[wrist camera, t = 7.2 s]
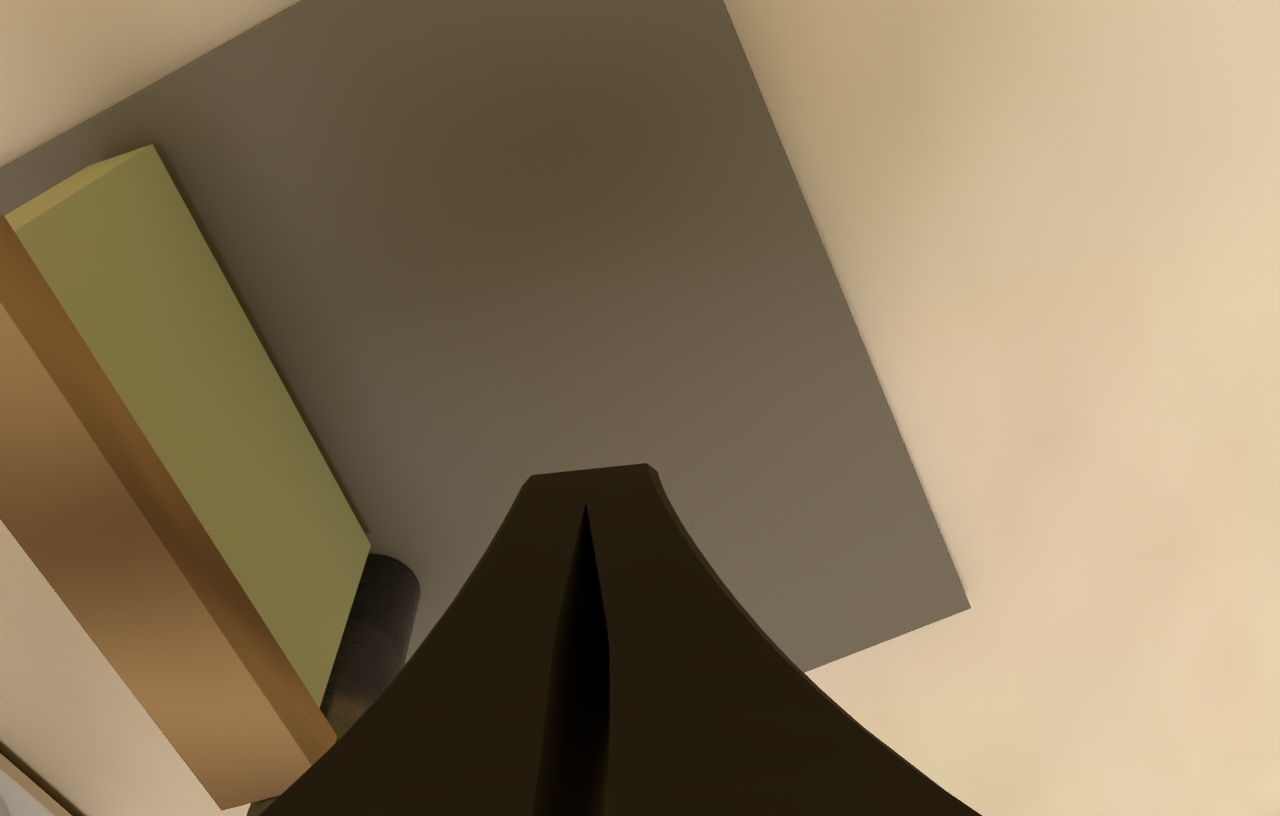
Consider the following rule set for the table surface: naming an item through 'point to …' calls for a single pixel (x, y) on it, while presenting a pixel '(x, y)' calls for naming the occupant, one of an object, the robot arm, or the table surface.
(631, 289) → the mat
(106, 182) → the olive flat block
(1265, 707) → the table surface
